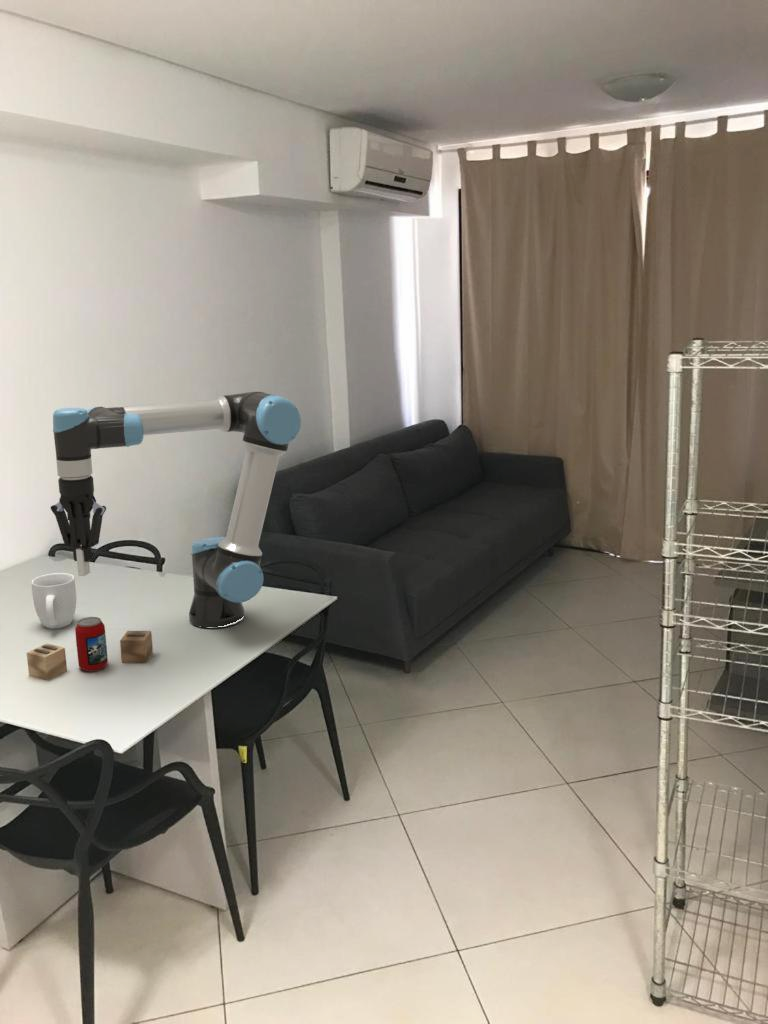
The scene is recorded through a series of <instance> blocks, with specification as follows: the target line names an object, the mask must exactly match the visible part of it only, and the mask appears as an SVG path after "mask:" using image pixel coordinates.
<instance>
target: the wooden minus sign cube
mask: <svg viewBox="0 0 768 1024" xmlns="http://www.w3.org/2000/svg"><path fill="white" fill-rule="evenodd" d="M152 634H153V633H152V631H151V630H127V631H125V633H124V635H122V637H121V638H120V640H119V645H120V656H121V663H122V664H146V663H147V662H148V661H149V660H150V658H151V656H152V655H153V653H154V650H153V649H154V648H153V638H152V637H153V636H152ZM151 654H152V655H151ZM149 657H150V658H149ZM147 660H148V661H147Z"/></svg>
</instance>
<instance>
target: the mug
mask: <svg viewBox="0 0 768 1024" xmlns="http://www.w3.org/2000/svg"><path fill="white" fill-rule="evenodd" d="M76 590H77V588H76V581H75V576H74V575H73V574H70V573H66V572H56V573H53V572H52V573H47V574H43V575H39V576H37V577H34V578H33V579H32V580H31V593H32V594H31V595H32V598H33V599H32V600H33V606H34V610H35V613H36V615H37V617H38V619H39V621H40V622H41V624H42V625H43V626H44V627H45V628H47V629H51V630H54V629H62V628H65V627H68V626H69V625H70V624H71V623H72V622H73V620H74V617H75V614H76V613H75V612H76V611H77V610H76V609H77V591H76Z"/></svg>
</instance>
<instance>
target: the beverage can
mask: <svg viewBox="0 0 768 1024" xmlns="http://www.w3.org/2000/svg"><path fill="white" fill-rule="evenodd" d="M74 632H75V633H74V634H75V643H76V653H77V654H76V655H77V662H78V667H79V669H81V670H83V671H86V672H96V671H99V670H103V668H105V667H106V666H107V665H108V662H109V660H108V650H107V649H108V648H107V647H108V646H107V637H106V636H107V635H106V627H105V624H104V623H103V621H102V619H101V618H100V617H97V616H87V617H83V618H81V619H79V620H78V621H77V624H76V626H75V629H74Z"/></svg>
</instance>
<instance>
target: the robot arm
mask: <svg viewBox="0 0 768 1024" xmlns="http://www.w3.org/2000/svg"><path fill="white" fill-rule="evenodd" d="M52 423H53V424H52V428H53V429H52V432H53V438H54V447H55V457H56V459H55V460H56V469H57V470H56V471H57V476H58V477H59V478H58V480H57V481H58V491H59V494H60V497H59V499H58V502H57V503H55V504H53V505H51V506H50V510H51V512H52V513H53V515H54V517H55V519H56V522H57V525H58V526H57V527H58V528H59V531H60V534H61V537H62V541H63V544H64V546H69V547H71V549H72V553H73V561H74V562H76V565H77V576H78V577H85V576H88V574H90V573H91V566H90V561H92V559H93V555H92V548H94V547H95V546H97V545H98V544H99V543H100V536H101V529H102V521H103V516H104V515H105V512H106V511H107V506H105V505H100V504H99V503H97V499H96V498H95V494H94V492H95V485H94V477H93V476H92V474H93V465H92V464H93V463H92V450H97V449H98V450H99V449H108V448H109V449H110V448H122V447H123V448H124V447H126V448H129V447H133V446H138V445H141V444H142V443H143V440H144V436H149V435H150V436H151V435H163V434H173V433H184V432H186V433H187V432H196V431H208V430H209V431H210V430H218V429H219V430H220V431H222V432H223V433H229V432H235V433H236V432H237V433H243V437H242V443H243V445H244V447H245V450H246V451H245V455H244V459H243V463H242V468H241V472H240V476H239V481H238V485H237V489H236V493H235V496H234V497H235V498H234V502H233V507H232V511H231V513H230V514H231V515H230V519H229V524H228V527H227V532H226V536H216V537H208V538H207V537H206V538H203V539H199V540H196V541H195V542H193V543H192V545H191V553H190V554H191V563H192V575H193V576H192V579H193V580H192V581H193V597H192V601H191V604H190V609H189V612H188V617H189V623H190V622H191V623H192V624H193V625H192V624H191V623H190V624H191V625H192V626H194V625H196V626H195V627H197V626H201V627H218V626H224V625H227V624H230V623H233V622H236V621H237V620H239V619H241V618H242V617H243V616H244V617H245V607H244V605H243V603H244V602H248V601H250V600H251V599H252V598H254V597H256V595H257V594H258V593H259V592H260V591H261V589H262V587H263V585H264V573H263V570H262V568H261V566H260V565H261V560H262V557H263V552H262V550H261V548H260V547H259V545H260V540H261V535H262V533H263V532H262V531H263V528H264V522H265V518H266V514H267V510H268V505H269V501H270V498H271V493H272V489H273V487H274V486H273V485H274V482H275V481H274V480H275V477H276V474H277V468H278V465H279V464H278V463H279V460H280V457H282V456H283V455H285V454H286V453H287V452H288V448H289V445H290V442H292V441H293V440H294V439H296V437H297V436H298V434H299V433H300V430H301V425H302V424H301V423H302V420H301V414H300V411H299V410H298V408H297V407H296V404H294V403H293V402H292V401H291V400H290V399H287V398H285V397H283V396H281V395H279V394H278V395H277V394H271V393H266V392H264V391H263V392H262V391H249V392H242V393H236V394H226V395H224V394H223V395H219V396H218V397H217V398H216V399H214V400H213V399H212V400H197V401H183V402H173V403H172V402H170V403H169V402H168V403H157V404H143V405H142V404H141V405H140V404H139V405H129V406H127V405H126V406H116V407H115V406H114V407H104V406H93V407H91V408H89V409H86V408H84V407H64V408H59V409H56V410H54V412H53V413H52ZM91 513H93V515H92V519H91ZM90 519H91V520H92V521H91V522H90ZM201 627H200V628H201Z"/></svg>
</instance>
